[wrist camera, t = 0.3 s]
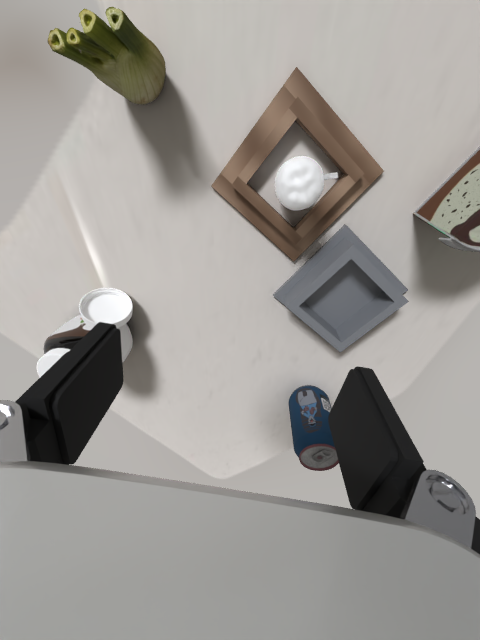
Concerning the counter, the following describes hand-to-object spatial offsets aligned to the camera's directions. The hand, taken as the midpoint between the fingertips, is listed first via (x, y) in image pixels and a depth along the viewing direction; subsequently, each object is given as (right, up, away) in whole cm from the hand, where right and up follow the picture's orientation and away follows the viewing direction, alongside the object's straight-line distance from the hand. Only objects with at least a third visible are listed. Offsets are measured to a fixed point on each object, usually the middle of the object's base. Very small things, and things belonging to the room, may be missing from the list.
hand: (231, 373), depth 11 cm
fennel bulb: (-10, +28, +18) cm, 34 cm away
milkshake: (+7, +19, +22) cm, 30 cm away
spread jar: (-21, +3, +33) cm, 39 cm away
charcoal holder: (+14, +6, +28) cm, 32 cm away
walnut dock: (+7, +19, +21) cm, 29 cm away
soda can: (+12, -12, +39) cm, 42 cm away
